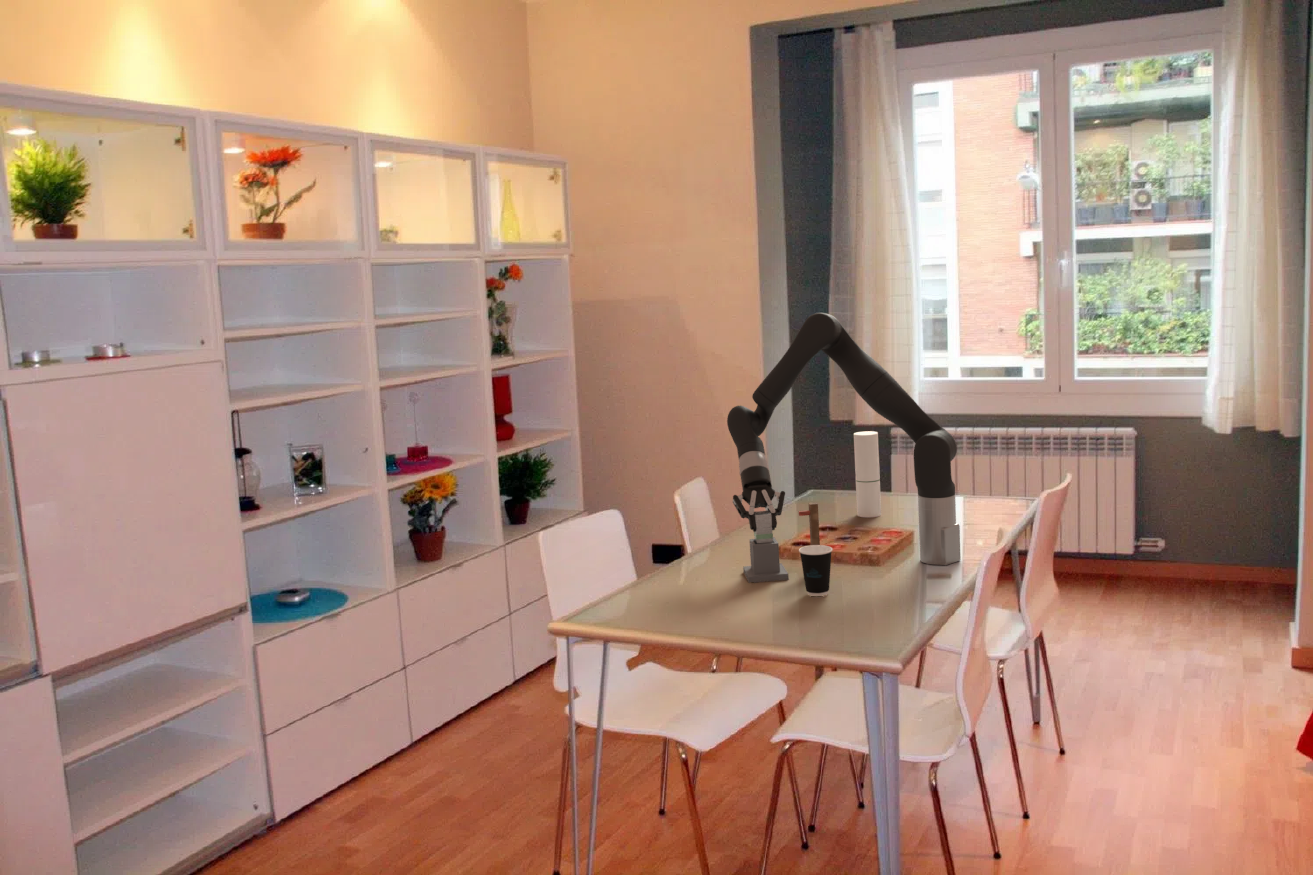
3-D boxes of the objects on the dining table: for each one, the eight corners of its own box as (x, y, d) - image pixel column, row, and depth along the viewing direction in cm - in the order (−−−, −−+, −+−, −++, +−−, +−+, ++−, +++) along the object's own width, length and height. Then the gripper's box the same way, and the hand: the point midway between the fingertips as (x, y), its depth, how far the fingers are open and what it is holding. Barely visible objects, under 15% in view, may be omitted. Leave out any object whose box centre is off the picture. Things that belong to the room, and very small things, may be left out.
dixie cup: (826, 587, 277) (824, 543, 275) (840, 596, 269) (838, 550, 268) (796, 591, 275) (793, 547, 273) (808, 600, 268) (806, 555, 266)
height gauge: (822, 568, 293) (819, 501, 290) (825, 573, 289) (822, 504, 286) (800, 570, 293) (797, 502, 290) (803, 574, 289) (800, 506, 286)
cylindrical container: (879, 511, 351) (876, 430, 347) (882, 516, 344) (878, 434, 340) (856, 512, 352) (852, 432, 348) (858, 517, 345) (854, 435, 341)
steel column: (772, 563, 292) (769, 510, 290) (774, 568, 288) (771, 513, 286) (755, 565, 292) (752, 511, 290) (758, 569, 288) (755, 515, 286)
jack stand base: (782, 568, 296) (780, 534, 294) (788, 579, 286) (786, 544, 284) (743, 572, 295) (741, 538, 294) (748, 582, 285) (746, 547, 284)
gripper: (727, 466, 293) (736, 523, 283) (783, 462, 294) (793, 519, 284) (726, 483, 299) (735, 539, 289) (780, 478, 300) (791, 534, 290)
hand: (764, 529), depth 287 cm, fingers closed on steel column, 4 cm apart
